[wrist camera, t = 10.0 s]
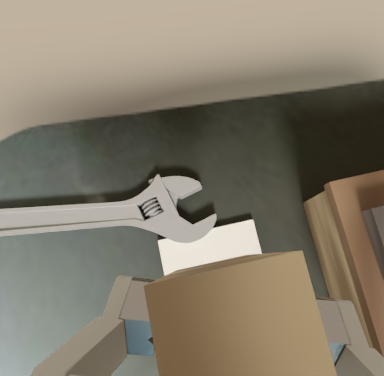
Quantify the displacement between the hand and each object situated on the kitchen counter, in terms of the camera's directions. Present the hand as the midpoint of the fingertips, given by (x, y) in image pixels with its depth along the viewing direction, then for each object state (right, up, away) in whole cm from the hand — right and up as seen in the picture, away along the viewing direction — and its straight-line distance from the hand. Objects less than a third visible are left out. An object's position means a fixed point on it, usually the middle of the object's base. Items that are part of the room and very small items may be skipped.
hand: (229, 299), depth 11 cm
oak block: (0, -2, +6) cm, 6 cm away
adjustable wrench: (-11, +2, +22) cm, 25 cm away
